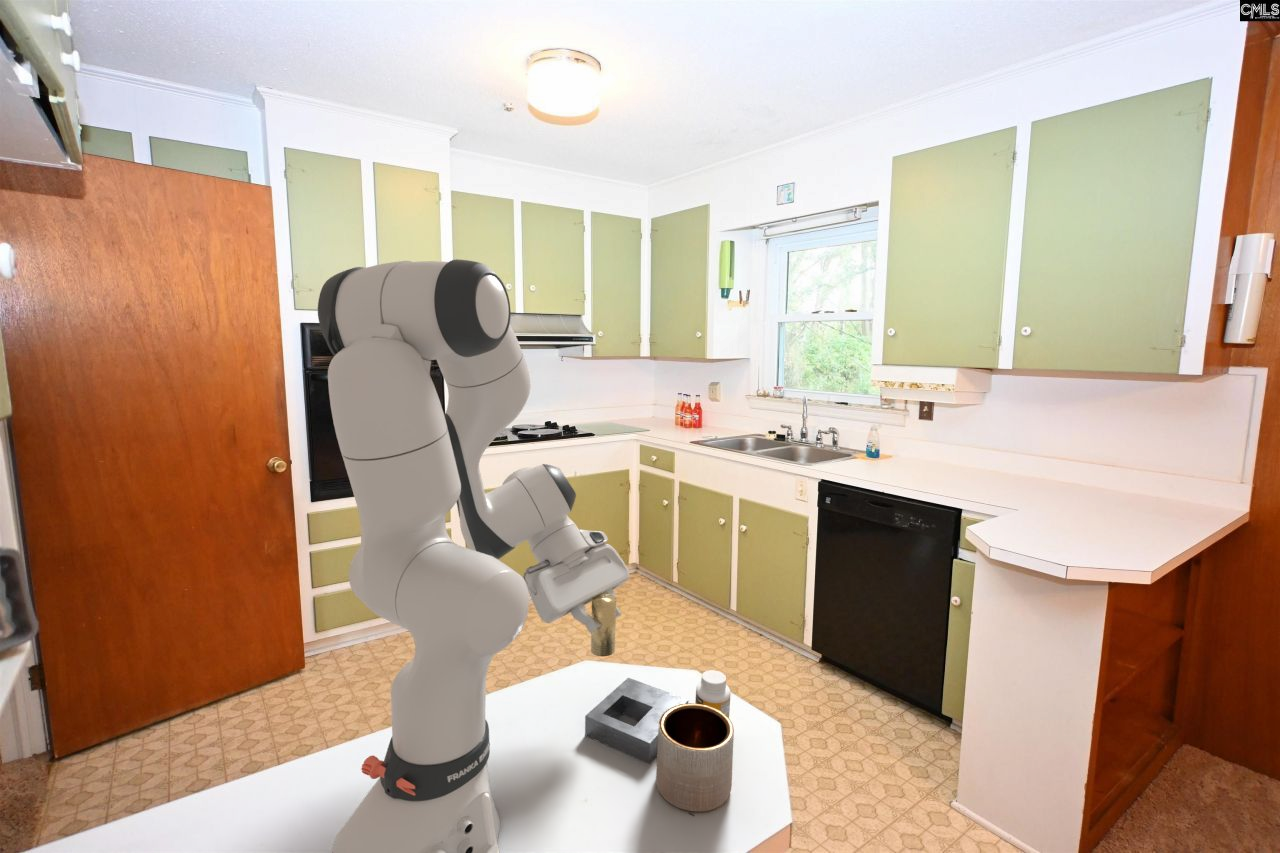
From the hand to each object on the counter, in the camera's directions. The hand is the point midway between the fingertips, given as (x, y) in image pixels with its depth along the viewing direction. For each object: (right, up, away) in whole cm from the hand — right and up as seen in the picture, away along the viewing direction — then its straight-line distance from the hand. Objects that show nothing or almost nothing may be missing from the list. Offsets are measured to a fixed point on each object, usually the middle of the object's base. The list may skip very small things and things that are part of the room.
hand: (606, 624), depth 99 cm
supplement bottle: (+17, -18, -1) cm, 25 cm away
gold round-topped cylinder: (-1, -5, +1) cm, 5 cm away
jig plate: (+5, -17, +1) cm, 18 cm away
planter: (+13, -20, -12) cm, 27 cm away
